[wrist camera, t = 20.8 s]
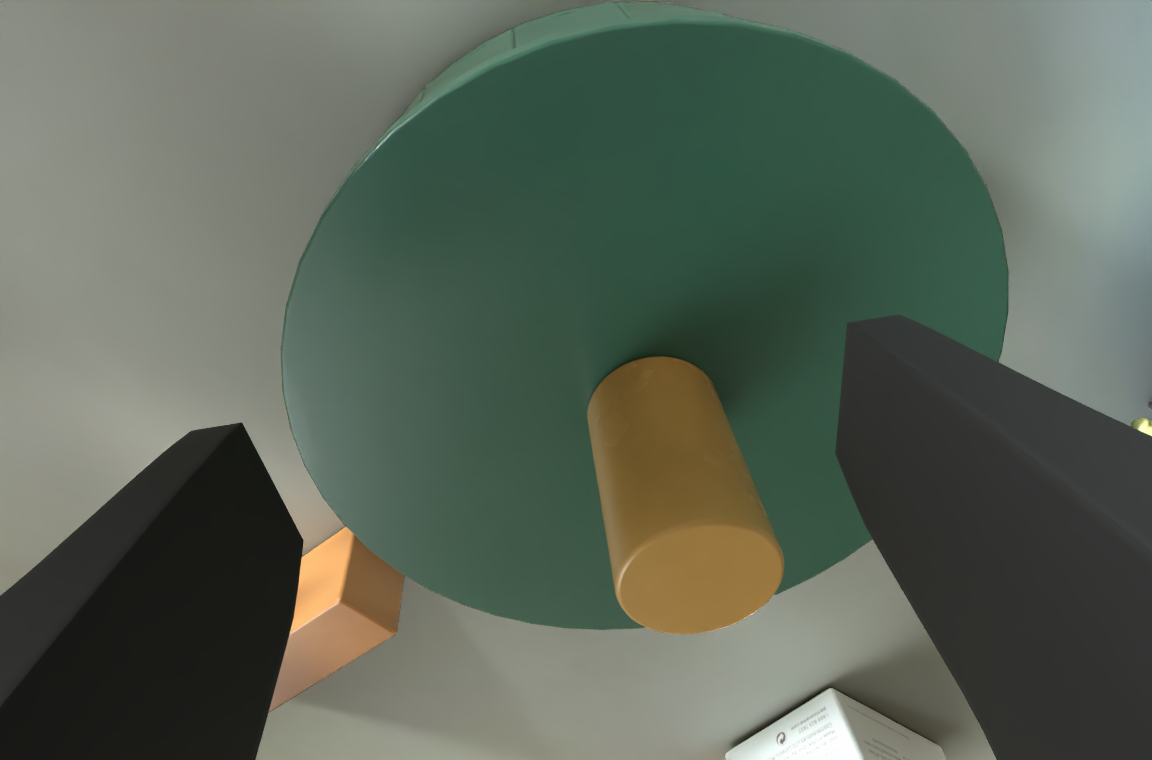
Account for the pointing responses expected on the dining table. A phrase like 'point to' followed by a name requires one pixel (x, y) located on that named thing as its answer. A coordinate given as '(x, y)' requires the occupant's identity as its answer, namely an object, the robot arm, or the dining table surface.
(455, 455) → the tin lid
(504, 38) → the tin
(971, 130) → the dining table surface
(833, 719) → the small box
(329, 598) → the stick
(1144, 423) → the passion flower
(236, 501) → the robot arm
